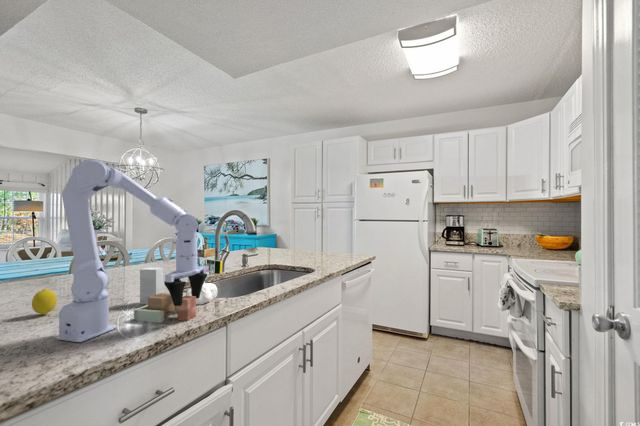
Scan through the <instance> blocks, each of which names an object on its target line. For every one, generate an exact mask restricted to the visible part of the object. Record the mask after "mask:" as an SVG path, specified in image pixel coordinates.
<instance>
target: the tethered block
mask: <svg viewBox="0 0 640 426" xmlns="http://www.w3.org/2000/svg"><path fill="white" fill-rule="evenodd" d="M147 305H148V309H149V310H160V311H164V319H166V318H167V317H170V316H172V315H175V314H177V320H178V321H187V322H188V321H190V320H192V319H195V318H196V317H197V305H196V296H186V295H184V296H183V299H182V305H181V306H177V311H175V306H174V304H173V301H172V297H171V295H170V293H165V292H163V293H160V294H157V295H154V296H151V297H148V304H147Z"/></svg>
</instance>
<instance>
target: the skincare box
mask: <svg viewBox="0 0 640 426" xmlns="http://www.w3.org/2000/svg"><path fill="white" fill-rule="evenodd" d="M160 293H164V267H144V268H141V269H139V305H148V297H151V296H154V295H157V294H160Z"/></svg>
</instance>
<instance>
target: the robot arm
mask: <svg viewBox="0 0 640 426" xmlns="http://www.w3.org/2000/svg"><path fill="white" fill-rule="evenodd" d="M107 187H111V188H114V189H118V190H124V191H125V192H127V193H128V194H131V195H132V196H133V197H135V198H137V199H138V200H140V201H141V202H143V203H144V204H146V205H148V206H149V210H150V214H152V215H153V216H155V217H156V218H158V219H159V220H161V221H163V222H164V223H166V224H167V225H169V226H171V227H172V226H174V228H175V229H176V231H177V232H176V240H175V251H176V252H175V270H174V271H171V272H170V273H167V274H165V276H164V280H163V285H164V286H165V287H166V289H167V290H168V292H169V294H170V295H171V297H172V301H173V304H174V306H181V305H182V299H183V297H184V296H183V295H184V290H185V286H186V283H187V282H186V281H183V280H181V279H185V278H187V277H188V280H189V283H190V288H191V294H192V296H196V298H199V297H200V293H201V289H202V286H203V283H204V281H205V282H206V280H207V279H206V277H208V274H206V265H198V238H197V237H198V233H197V230H198V228H199V222H198V219H197V218H196V217H195V216H194V215H192V214H189V213H188V210H187V209H185V208H184V209H183V208H182V207H180V206H179V205H177V204H176V203H174V199H173V198H171V197H168V198H167V197H166V196H160V197H157V196H156V195H154V194H153V193H152V192H150V191H149V190H148V189H146V188H145V187H143V186H142V185H141V184H140V183H138V182H136V181H135V180H134V179H132V178H131V177H130V176H128V175H127V174H126V173H123V172H122V171H120V170H118V169H116V168H114V167H113V166H108V165H107V164H105V162H103V161H101V160H99V159H96V158H88V159H84V160H83V161H82V162H80V163H79V164H77V165H75V167H73V168H72V171H71V175H70V177H69V178H68V180H67V182H66V184H65V186H64V188H63V190H62V191H61V198H62V203H63V208H64V214H65V218H66V224H67V228H68V234H69V239H70V245H71V249H72V255H73V261H74V268H73V272H72V274H73V275H72V276H73V282H72V284H71V287H70V289H71V290H70V292H71V294H72V295H73V298H72V299H73V300H72V301H71V302H70V303H68V304H66V305H63V306H62V307H61V309H60V310H59V314H58V322H59V323H58V336H56V340H61V341H67V342H68V341H69V342H73V343H74V342H75V343H83V342H85V341H88V340H90V339H94V338H95V337H98V336H100V335H103V334H105V333H107V332H110V331H113V330H115V329H118V325H112V324H109V323H110V316H109V315H110V294H109V292H108V291H107V289H106V288H107V287H108V286H109V284H110V281H111V277H110V275H109V273H108V272H107V271H106V270H105V269H104V265H103V262H102V260H101V259H100V254H99V249H98V243H97V238H96V234H95V228H94V227H95V226H94V224H93V218H92V211H91V207H90V201H89V200H90V199H91V198H92V197H93V196H94V195H95V194H96V193H97V192H98V191H101V190H103V189H105V188H107ZM205 279H206V280H205Z"/></svg>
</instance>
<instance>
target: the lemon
mask: <svg viewBox="0 0 640 426" xmlns="http://www.w3.org/2000/svg"><path fill="white" fill-rule="evenodd" d="M57 303H58V298H57V295H56V293H55V292H54V291H53V290H51V289H47V288H43V289H41V290H40V291H38V292H36V293H35V294H34V296H33V297H32V300H31V307H32V311H34V312H35V313H36V314H40V315H42V316H47V314H48V313H50V312H51V311H53V310H54V309H55V308H56V306H57Z"/></svg>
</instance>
